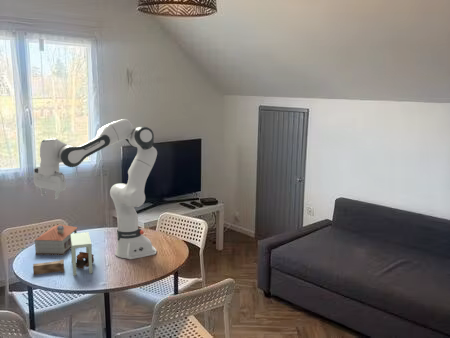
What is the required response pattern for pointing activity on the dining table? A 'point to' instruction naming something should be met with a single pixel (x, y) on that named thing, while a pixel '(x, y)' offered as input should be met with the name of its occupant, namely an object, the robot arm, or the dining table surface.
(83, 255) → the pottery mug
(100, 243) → the dining table surface
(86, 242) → the footstool
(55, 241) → the model house
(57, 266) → the push stick
